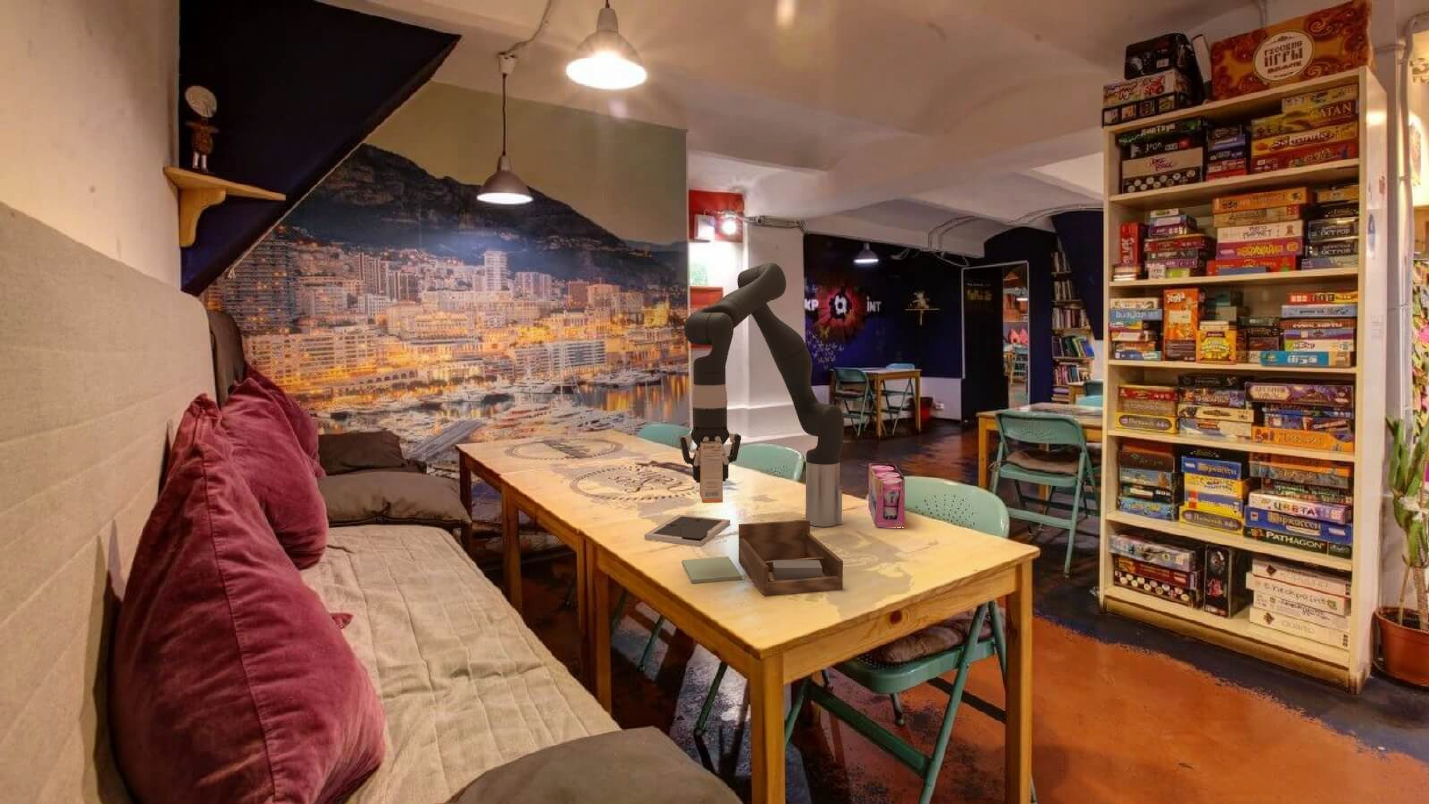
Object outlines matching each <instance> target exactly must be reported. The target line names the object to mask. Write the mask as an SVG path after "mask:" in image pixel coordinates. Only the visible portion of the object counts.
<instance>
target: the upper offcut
mask: <svg viewBox="0 0 1429 804" xmlns="http://www.w3.org/2000/svg"><path fill="white" fill-rule="evenodd" d="M772 572H773V577H774V579H807V578H819V577H822V566H821V564H820V561H819V560H772Z"/></svg>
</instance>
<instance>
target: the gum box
mask: <svg viewBox="0 0 1429 804" xmlns="http://www.w3.org/2000/svg"><path fill="white" fill-rule="evenodd" d="M905 491H906V479H905V476H904V475H903V474H902V472H901V471H900V470H899V469H898V467H897V465H896V464H895V463H869V464H868V510H869V512H871V513H870V515H872V516H871V519H872V520H873V524H874V527H875V528H876V527H896V528H895V529H898V528H897V527H901V528H902V527H904V528H905V513H906V512H905V511H906V505H905V503H906V500H905V499H906V492H905Z"/></svg>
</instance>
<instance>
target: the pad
mask: <svg viewBox="0 0 1429 804" xmlns="http://www.w3.org/2000/svg"><path fill="white" fill-rule="evenodd" d="M681 564H683V565H682V566H684V567H683V569H684V568H685V569H684V571H685V570H686V571H685V572H687V573H686V575H687V574H688V575H687V576H689V577H688V579H689V578H690V579H689V580H691V581H690V583H691V584H700V583H701V582H702V583H701V584H703V582H704V583H713V582H714V583H715V582H716V583H717V582H725V581H739V580H742V579H743V575H742V574H741V572H740V571H739V569H738V568H737V567H736V566H735V565H736V564H734V562H733V561H732V560H731V558H730V556H718V557H705V558H693V559H682V560H681Z"/></svg>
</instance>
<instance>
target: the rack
mask: <svg viewBox="0 0 1429 804" xmlns="http://www.w3.org/2000/svg"><path fill="white" fill-rule="evenodd" d="M772 560H819V561H820V564H821V566H822V572H823V573H824V575H825V576H826V577H819V578H807V579H795V580H783V581H771V582H768V572H772ZM738 563H739V564H740V566H741V567H742V569H743V570H744V571H745V573H746V574H747V576H748V577H749V579H750V580H751V581H752V582H753V583H754V585H755V586H756V588H757V589H758V590H759V592H760V593H761V594H762V596H763V597H766V596H768V597H769V596H779V595H790V594H803V593H813V592H822V591H834V590H843V586H844V585H843V583H844V581H843V578H844V573H843V572H844V571H843V570H844V561H843V560H842V558H840V557H839V556H838V555H836V554H835V553H834V552H833V551H832V550H831V549H830V548H828V547H827V546H826V545H825V544H823V543H822V542H821V541H820V540H819V539H818V538H816V537H815V536H814V535H813V534H811V525H810V520H806V519H799V520H798V519H795V520H782V521H769V522H766V521H765V522H752V523H738Z"/></svg>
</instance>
